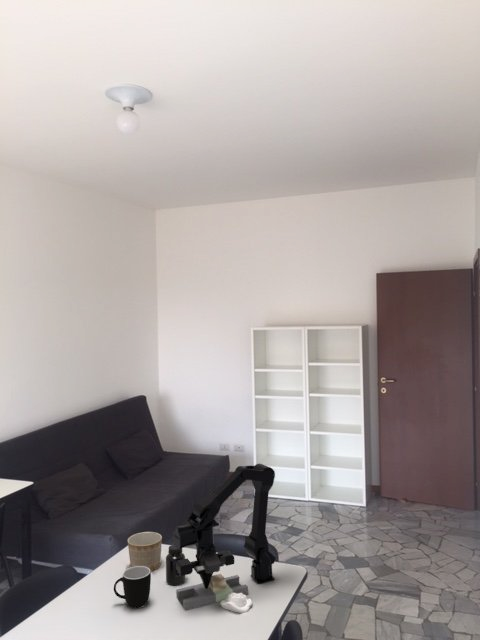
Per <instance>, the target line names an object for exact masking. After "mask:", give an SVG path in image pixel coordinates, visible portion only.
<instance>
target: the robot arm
mask: <svg viewBox="0 0 480 640" xmlns="http://www.w3.org/2000/svg"><path fill="white" fill-rule="evenodd" d="M275 477H276V472H275V470H274V469H273V468H272V467H270V466H267V465H266V464H263V463H256V464H254V465H238V466H237V467H236V468H235V469H234V471H233V472H232V473H231V474H230V475H229V476H228V477H227V478H226V479H225V480H224V481H223V482H222V483H221V484H220V485H219V486H218V487H217V488H216V489H215V490H214V491H213V492H212V493H210V494H209V495H206V496H205V495H204V496H203V497H202V498H201V499H199V500H198V501H196V502H195V503H194V505H193V506H192V508H193V509H192V511H191V513H190V515H188V516H189V517H188V518H187V520H186V523H185V524H182V525H176V526H175V530H174V531H173V534H172V541H173V545H175V547H176V548H177V549H180V548H182V549H184V548H186V547H190V546H191V547H192V546H194V545H195V548H196V550H195V551H196V554H195V559H196V560H193V561H190V560H189V558H185V559H182V560H178V561H177V563H176V569H177V571H178V572H179V574H180V575H181V576H184V575H185V576H188V575H191V574H192V573H193V571H195V573H196V574H197V575H199V577H200V579H201V582H202V583H203V585H204V587H205V589H207V588H208V586H209V583H210V580H211V577H212V576H213V574H214V573H217V572H219V571H220V570H221V567H224V566H226V567H228V566H232V565H235V555H233V553H231V551H229V550H228V549H226V550H219V551H218V552H217V551H216V546H215V543H214V528H215V527H218V526H220V523H219V522H218V521H216V519H215V518H216V517H217V515H218V514H219V513H220V510H221V507H222V505H223V504H224V503H225V502H226V501H228V499H229V498H230V497H231V496H232V495H233V494H234V492H236V491H237V490H238V488H239V487H241V486H242V485H243V484H244V483H245V482H246V481H247V480H249V481H251V483H252V485H253V488H254V496H253V497H254V498H253V509H252V519H251V520H252V521H251V522H252V523H251V531H250V533H249V534H248V535H244V544H243V548H244V550H245V553H246V554H248V556H249V559H252V561H251V562H252V563H251V565H250V571H251V572H250V573H251V574H250V577H251V578H252V579H253V581H255V583H257V584H258V585H259V584H262V583H263V584H264V583H268V582H272V581H275V577H274V576H273V565H274V564H275V561H276V556H275V555H273V554H272V553H271V552H270V548H269V547H270V546H269V541H268V537H267V535H266V531H267V530H266V527H267V517H268V516H267V515H268V502H269V493H270V490H271V489H272V487H273V485H274V482H275ZM197 519H198V520H199V521H198V520H197Z"/></svg>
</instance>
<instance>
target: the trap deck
mask: <svg viewBox="0 0 480 640" xmlns="http://www.w3.org/2000/svg"><path fill="white" fill-rule="evenodd" d="M224 578H225V579H226V589H222V590H218V591H214V592H213V591H212V589H211V588H210V587H209V586H208V588H207V589H205V587H204V585H203V582H202V583H197V584H193V585H189V586H185V587H181V588H177V589H176V590H175V593H176V599H177V600H178V602H179V603H180V605H181V606H182V608H183V610H184V611H188V610H191V609H195V608H199V607H204V606H207V605H211V604H215V603H219V602H221V601H222V600H225V599H226V598H228V595H229V594H230V593H236V594H239V593H243V595H246V596H247V595H249V587H248V585H247V584H242V585H241V583H240V576H239V575H238V574H235V575H232V576H228V577H224Z"/></svg>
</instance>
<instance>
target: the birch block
mask: <svg viewBox="0 0 480 640" xmlns="http://www.w3.org/2000/svg"><path fill="white" fill-rule="evenodd" d="M225 578H226V577H224V575H222V573H217V574H214V575H213V574H212V577H211V580H210V583H209V587H210V588H211V589H212V591H213V592H214V591H218V590H222V589H226V579H225Z"/></svg>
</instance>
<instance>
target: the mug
mask: <svg viewBox="0 0 480 640" xmlns="http://www.w3.org/2000/svg"><path fill="white" fill-rule="evenodd" d="M151 572H152V571H150V569H149V568H148V567H145V566H135V567H131V566H130V567H129V568H126V569H125V570H124V571H123V573H122V577H120V578H118V579H117V580H116V581H115V582H114V584H113V592H114V594H115V596H116V597H118V598H120V599H123V600H125V603H126V605H127V606H128V608H131V609H140V608H143V607H145V606H146V605H147V604H148V601H149V599H150V593H151V582H152V581H151V579H152V578H151V576H152V573H151ZM120 582H122V585H123V594H120V593H119V592H118V590H117V585H118V584H119V583H120Z"/></svg>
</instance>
